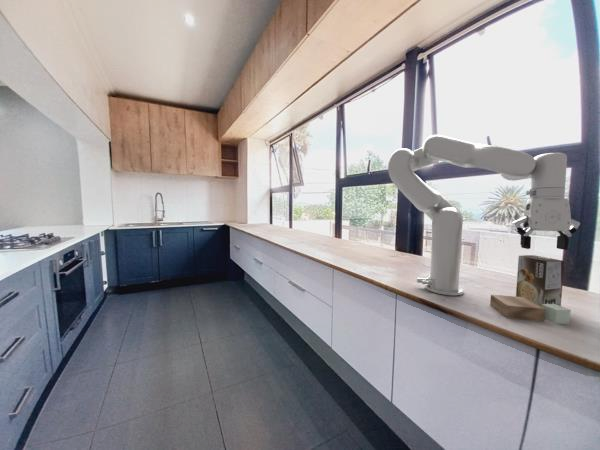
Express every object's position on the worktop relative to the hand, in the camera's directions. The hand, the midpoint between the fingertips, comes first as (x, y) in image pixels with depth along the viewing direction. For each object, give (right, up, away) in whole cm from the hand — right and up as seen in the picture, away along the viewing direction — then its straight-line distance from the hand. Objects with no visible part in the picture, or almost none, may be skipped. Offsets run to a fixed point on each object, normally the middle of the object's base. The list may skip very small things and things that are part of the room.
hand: (543, 248), depth 76 cm
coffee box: (-1, -19, +2) cm, 19 cm away
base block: (-12, -20, -3) cm, 23 cm away
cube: (-5, -20, -8) cm, 22 cm away
